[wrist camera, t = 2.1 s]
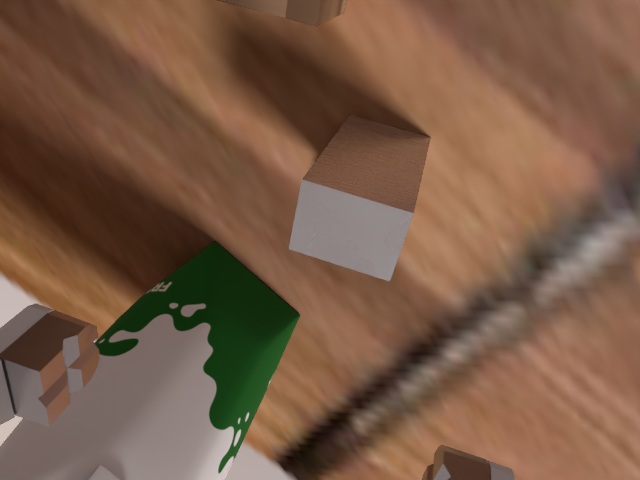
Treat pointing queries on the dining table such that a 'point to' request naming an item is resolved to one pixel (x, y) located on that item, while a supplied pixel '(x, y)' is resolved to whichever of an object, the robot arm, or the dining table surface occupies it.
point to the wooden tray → (296, 9)
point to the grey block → (360, 197)
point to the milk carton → (166, 383)
